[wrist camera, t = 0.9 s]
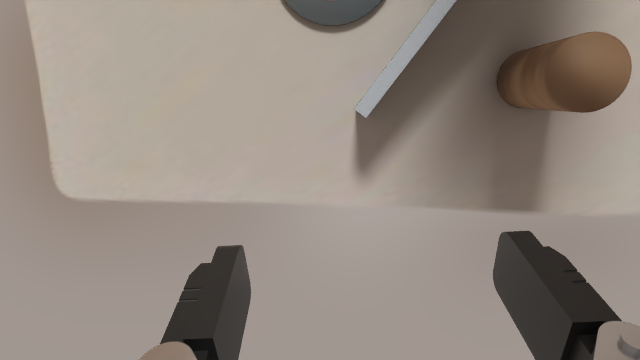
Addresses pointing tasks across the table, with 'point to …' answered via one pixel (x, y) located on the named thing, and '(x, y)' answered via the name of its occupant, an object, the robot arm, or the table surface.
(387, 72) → the acrylic wall
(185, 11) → the table surface
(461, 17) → the table surface
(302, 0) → the mat
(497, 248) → the robot arm
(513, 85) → the walnut pin
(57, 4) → the table surface
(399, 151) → the table surface
